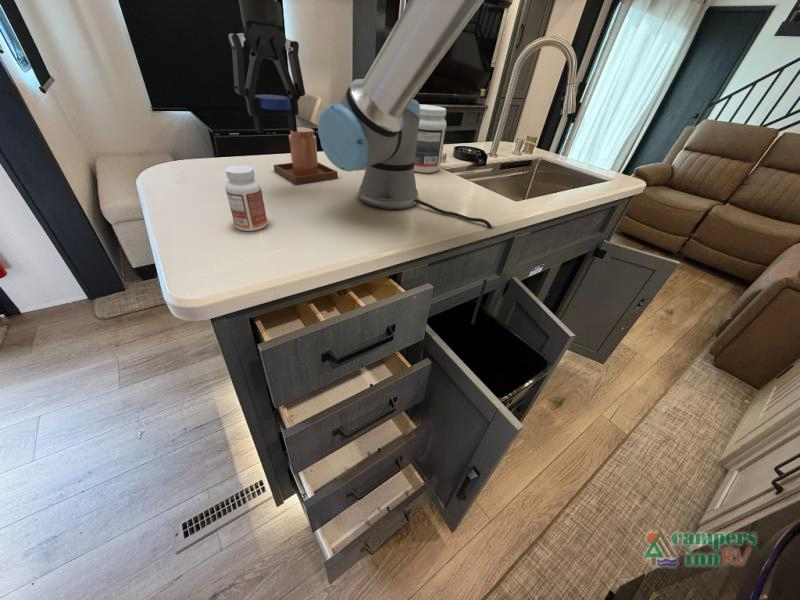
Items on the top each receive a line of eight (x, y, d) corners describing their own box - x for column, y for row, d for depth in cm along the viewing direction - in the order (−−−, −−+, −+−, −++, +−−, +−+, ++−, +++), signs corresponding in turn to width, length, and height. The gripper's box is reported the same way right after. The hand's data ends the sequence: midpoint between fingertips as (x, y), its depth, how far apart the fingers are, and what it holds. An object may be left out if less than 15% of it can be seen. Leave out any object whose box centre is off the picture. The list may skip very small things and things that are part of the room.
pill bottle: (265, 217, 69) (256, 163, 62) (269, 230, 64) (259, 173, 58) (234, 220, 67) (220, 164, 60) (235, 233, 62) (221, 174, 55)
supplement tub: (411, 161, 117) (417, 102, 106) (444, 168, 113) (454, 108, 102) (396, 168, 108) (400, 105, 96) (431, 176, 104) (440, 111, 93)
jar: (323, 175, 94) (320, 131, 87) (301, 178, 90) (296, 133, 83) (309, 168, 98) (306, 126, 91) (288, 171, 94) (282, 127, 87)
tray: (337, 178, 94) (337, 171, 93) (296, 184, 87) (295, 177, 86) (314, 166, 102) (314, 160, 101) (274, 171, 94) (273, 164, 93)
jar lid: (287, 104, 76) (286, 95, 75) (294, 110, 71) (293, 100, 70) (253, 103, 73) (251, 93, 72) (258, 109, 68) (256, 98, 67)
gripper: (208, -14, 53) (238, 137, 67) (317, 7, 65) (323, 132, 79) (194, -12, 57) (225, 130, 71) (299, 7, 69) (308, 126, 83)
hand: (276, 131), depth 75 cm, fingers closed on jar lid, 7 cm apart
